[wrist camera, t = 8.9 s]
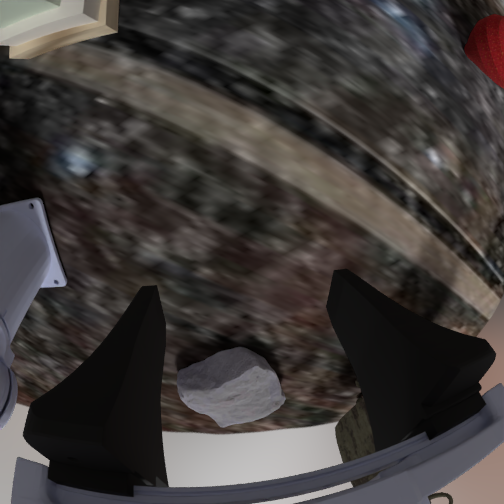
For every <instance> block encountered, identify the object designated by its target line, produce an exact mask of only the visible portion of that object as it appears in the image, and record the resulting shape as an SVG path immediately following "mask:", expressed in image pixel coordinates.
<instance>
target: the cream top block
mask: <svg viewBox="0 0 504 504" xmlns="http://www.w3.org/2000/svg"><path fill="white" fill-rule="evenodd" d="M100 3H101V0H61V3H60V7H57V8H54V9H51V10H48V11H45V12H42V13H39V14H36V15H34V16H31V17H28V18H26V19H23V20H21V21H18V22H16V23H14V24H11V25H9V26H7V27H5V28H0V45H4V46H18V45H21V44H23V43H26V42H28V41H31V40H34V39H37V38H40V37H43V36H46V35H49V34H52V33H55V32H59V31H62V30H66V29H70V28H73V27H77V26H81V25H86V24H90V23H95V22H98V20H99V11H100Z"/></svg>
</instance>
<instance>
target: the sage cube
mask: <svg viewBox="0 0 504 504" xmlns="http://www.w3.org/2000/svg"><path fill="white" fill-rule="evenodd" d="M60 3H61V0H0V28H5V27H7V26H9V25H11V24H14V23H16V22H18V21H21V20H23V19H26V18H28V17H31V16H34V15H36V14H39V13H42V12H45V11H48V10H51V9H54V8H57V7H60Z"/></svg>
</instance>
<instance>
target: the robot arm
mask: <svg viewBox="0 0 504 504" xmlns="http://www.w3.org/2000/svg"><path fill="white" fill-rule="evenodd" d="M31 203H32V204H33V205H34V207H32V206H31ZM56 280H57V281H58V282H57V281H56ZM66 283H67V279H66V276H65V273H64V271H63V268H62V265H61V262H60V259H59V256H58V253H57V250H56V247H55V244H54V241H53V238H52V234H51V231H50V227H49V224H48V220H47V217H46V213H45V209H44V205H43V202H42V200H41V199H40V198H32V199H27V200H22V201H18V202H13V203H8V204H4V205H0V430H1V429H2V428H3V427H4V426H5V425H6V424H7V422H8V421H9V419H10V418H11V416H12V413H13V411H14V407H15V404H16V400H17V392H18V387H17V380H16V377H15V375H14V373H13V371H12V370H11V369H10V366H11V364H12V361H13V359H14V357H15V355H14V354H13V352H12V350H11V349H10V344H11V342H12V340H13V337H14V335H15V333H16V331H17V329H18V327H19V325H20V323H21V321H22V319H23V317H24V315H25V314H26V312H27V310H28V308H29V306H30V304H31V302H32V301H33V299H34V297H35V295H36V294H37V292H38V290H39V288H40V287H62V286H65V285H66ZM326 308H327V311H328V314H329V317H330V320H331V323H332V326H333V328H334V330H335V332H336V334H337V336H338V338H339V340H340V342H341V344H342V346H343V348H344V350H345V352H346V355H347V357H348V359H349V361H350V363H351V365H352V367H353V369H354V371H355V374H356V376H357V379H358V382H359V385H360V388H361V391H362V395H363V398H364V401H365V405H366V408H367V412H368V416H369V421H370V425H371V429H372V435H373V440H374V446H375V453H373V454H370V455H367V456H364V457H361V458H358V459H355V460H352V461H349V462H346V463H342V464H339V465H336V466H332V467H328V468H324V469H321V470H317V471H313V472H309V473H304V474H299V475H295V476H290V477H285V478H279V479H274V480H268V481H261V482H254V483H247V484H237V485H226V486H212V487H175V488H174V487H169V486H168V480H167V473H166V467H165V459H164V450H163V441H162V426H161V403H160V398H161V384H162V374H163V365H164V356H165V347H166V322H165V318H164V314H163V310H162V305H161V301H160V297H159V292H158V288H157V285H154V286H142V287H141V288H140V290H139V291H138V293H137V294H136V296H135V297H134V299H133V300H132V302H131V303H130V305H129V306H128V308H127V309H126V311H125V312H124V314H123V315H122V317H121V318H120V320H119V321H118V322H117V324H116V325H115V326H114V328H113V329H112V330H111V332H110V333H109V334H108V336H107V337H106V338H105V339H104V341H103V342H102V343H101V344H100V345H99V347H98V348H97V349H96V350H95V351H94V352H93V353H92V354H91V356H90V357H89V358H88V359H87V360H85V361H84V362H83V363H82V364H81V365H80V366H79V367H78V368H77V369H76V370H75V371H74V372H73V373H72V374H70V375H69V376H68V377H67V378H66V379H64V380H63V381H62V382H61V383H59V384H58V385H57V386H55V387H54V388H53V389H51V390H50V391H48V392H47V393H45V394H44V395H42V396H41V397H39V398H38V399H36V400H35V401H33V402H31V405H30V408H29V411H28V415H27V419H26V423H25V427H24V431H23V437H24V439H25V440H26V442H27V443H28V444H29V445H30V446H31V447H33V448H34V449H35V450H37V451H38V452H39V453H41V454H42V455H43V456H45V457H46V458H48V459H49V460H50V463H49V467H47V466H45V465H43V464H40V463H37V462H33V461H30V460H27V459H23V458H20V457H18V458H17V461H16V467H15V473H14V481H13V488H12V498H11V504H252V503H259V502H265V501H272V500H278V499H283V498H288V497H293V496H298V495H302V494H306V493H311V492H315V491H319V490H323V489H326V488H330V487H334V486H337V485H340V484H343V483H347V482H350V481H353V480H356V479H359V478H362V477H365V476H367V475H370V474H373V473H375V472H378V471H381V470H383V469H385V470H383V471H381V472H379V473H378V475H377V476H376V477H374V478H373V479H372V480H370V481H368V482H367V483H365V484H362V485H359V486H356V487H353V488H350V489H346V490H343V491H340V492H337V493H333V494H330V495H326V496H322V497H319V498H315V499H311V500H307V501H303V502H299V503H295V504H430V501H429V499H428V496H429V495H431V494H433V493H434V492H436V491H438V490H439V489H441V488H442V487H444V486H446V485H447V484H449V483H450V482H452V481H453V480H455V479H456V478H458V477H459V476H461V475H462V474H464V473H465V472H466V471H468V470H469V469H471V468H472V467H473V466H475V465H476V464H477V463H479V462H480V461H481V460H482V459H484V458H485V457H486V456H487V455H489V454H490V453H491V452H492V451H493V450H495V449H496V448H497V447H498V446H499V445H500V444H502V443H503V442H504V387H503V385H502V384H501V383H499V384H498V385H496V386H495V387H493V388H492V389H490V390H489V391H487V392H486V393H485V394H484V395H483V396H481V395H480V393H479V391H480V390H481V385H480V384H479V381H480V380H481V378H482V377H483V376H484V374H485V373H486V372H487V371H488V369H489V368H490V367H491V365H492V364H493V362H494V360H495V357H496V353H495V351H494V350H493V348H492V347H491V346H490V344H489V343H488V342H487V341H486V340H485V339H481V338H477V337H473V336H469V335H465V334H462V333H459V332H456V331H453V330H450V329H447V328H445V327H442V326H440V325H438V324H435V323H433V322H431V321H428V320H426V319H424V318H422V317H420V316H419V315H417V314H415V313H413V312H411V311H409V310H408V309H406V308H404V307H402V306H401V305H399V304H398V303H396V302H395V301H393V300H391V299H390V298H388V297H387V296H385V295H384V294H382V293H381V292H380V291H378V290H377V289H375V288H374V287H372V286H371V285H370V284H368V283H367V282H365V281H364V280H363V279H361V278H360V277H358V276H357V275H355V274H354V273H352V272H351V271H349V270H348V269H341V270H334V272H333V277H332V282H331V287H330V292H329V296H328V301H327V305H326ZM390 466H391V467H390ZM388 467H389V468H388ZM386 468H387V469H386Z"/></svg>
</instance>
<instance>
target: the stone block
mask: <svg viewBox="0 0 504 504" xmlns="http://www.w3.org/2000/svg"><path fill="white" fill-rule="evenodd" d="M177 377H178V379H177V387H178V392H179V395H180V398H181V400H182V401H183V402H184V403H185V404H186V405H187V406H188V407H189V408H191V409H193V410H195V411H196V412H198V413H200V414H207V415H209V416H210V417H211V418H212V419H214V420H215V421H216V422H217V424H218V425H219V426H220V427H226V426H229V425H232V424H240V423H245V422H251V421H254V420H257V419H260V418H263V417H266V416H267V415H269V414H270V413H272V412H273V411H275V410H277V409H279V407H280V405H282V404H283V403H284V401H285V395H284V393H283V391H282V389H281V384H280V382H279V379H278V377H277V375H276V372H275V371H274V370H273V369H272V368H271V367H270V365H269V364H268V363H267V361H266V359H265V358H264V357H262V356H260V355H258V354H256V353H255V352H253V351H251V350H249V349H247V348H244V347H236V348H233V349H229V350H224V351H221V352H218V353H216V354H214V355H213V356H211V357H208V358H207V359H205V360H204V361H201V362H198V363H194V364H192V365H190V366H189V367H187V368H184V369H181V370H179V372H178V375H177Z"/></svg>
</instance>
